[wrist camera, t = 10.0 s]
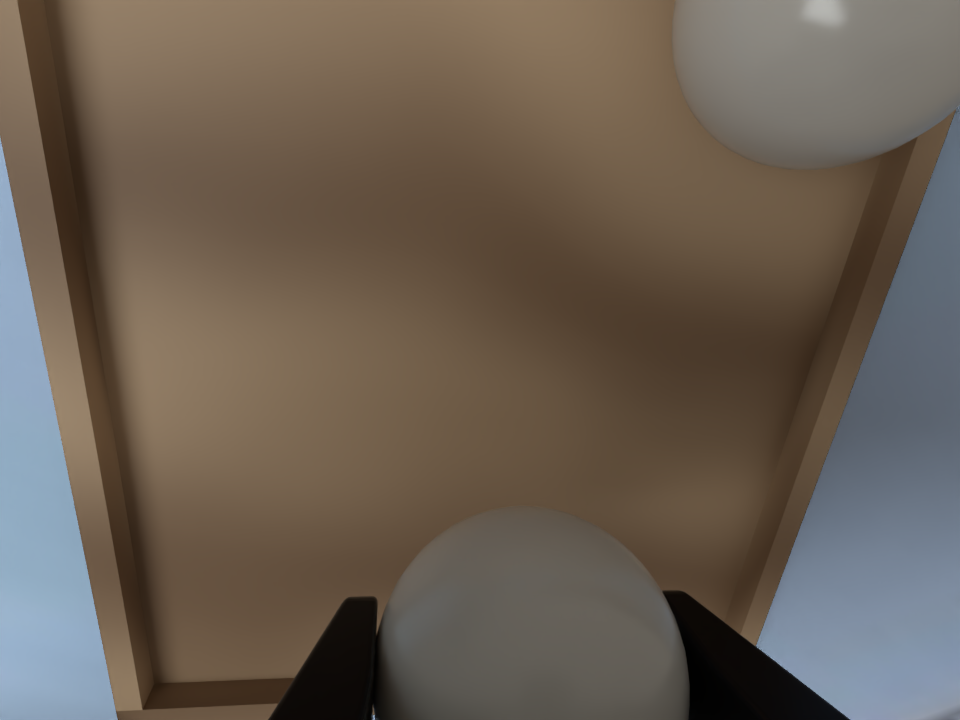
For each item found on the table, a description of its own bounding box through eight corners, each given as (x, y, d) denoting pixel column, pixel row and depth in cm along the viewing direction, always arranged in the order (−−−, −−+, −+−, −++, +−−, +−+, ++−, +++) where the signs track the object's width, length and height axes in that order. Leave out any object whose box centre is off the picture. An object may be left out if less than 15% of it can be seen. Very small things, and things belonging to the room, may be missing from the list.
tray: (716, 660, 15) (737, 695, 14) (140, 684, 13) (119, 728, 12) (1095, -445, 7) (1194, -527, 6) (-125, -832, 5) (-235, -1033, 4)
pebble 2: (817, 172, 10) (1051, 196, 6) (608, 150, 9) (735, 164, 6) (899, -97, 8) (1259, -261, 5) (657, -142, 8) (867, -367, 4)
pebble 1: (598, 644, 10) (706, 932, 6) (374, 651, 9) (355, 973, 6) (643, 453, 8) (814, 687, 5) (382, 448, 8) (365, 707, 4)
